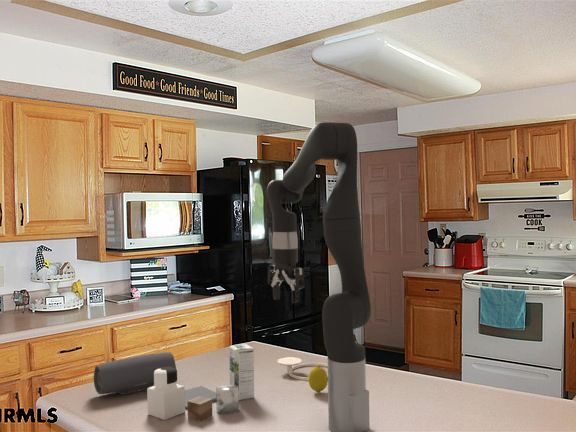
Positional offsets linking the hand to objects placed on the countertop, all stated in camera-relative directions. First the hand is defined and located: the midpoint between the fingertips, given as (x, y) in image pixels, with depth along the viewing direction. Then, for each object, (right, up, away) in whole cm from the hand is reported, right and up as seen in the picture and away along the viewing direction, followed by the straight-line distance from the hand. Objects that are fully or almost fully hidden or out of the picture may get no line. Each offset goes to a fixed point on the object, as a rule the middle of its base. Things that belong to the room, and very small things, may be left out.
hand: (285, 301), depth 163 cm
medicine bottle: (-32, -28, -17) cm, 45 cm away
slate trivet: (-26, -27, -6) cm, 38 cm away
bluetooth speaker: (-45, -27, +2) cm, 53 cm away
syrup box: (-13, -27, -5) cm, 30 cm away
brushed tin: (-16, -27, -16) cm, 35 cm away
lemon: (+10, -26, -4) cm, 28 cm away
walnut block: (-22, -27, -20) cm, 41 cm away
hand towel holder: (+7, -26, +16) cm, 32 cm away
